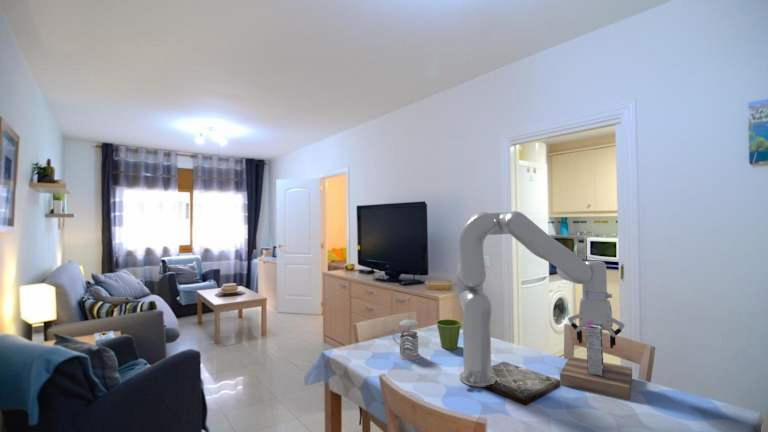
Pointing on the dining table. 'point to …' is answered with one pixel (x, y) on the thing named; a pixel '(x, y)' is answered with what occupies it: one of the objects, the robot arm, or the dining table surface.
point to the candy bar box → (594, 349)
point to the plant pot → (449, 332)
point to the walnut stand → (598, 378)
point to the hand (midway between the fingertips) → (595, 344)
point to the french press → (408, 340)
